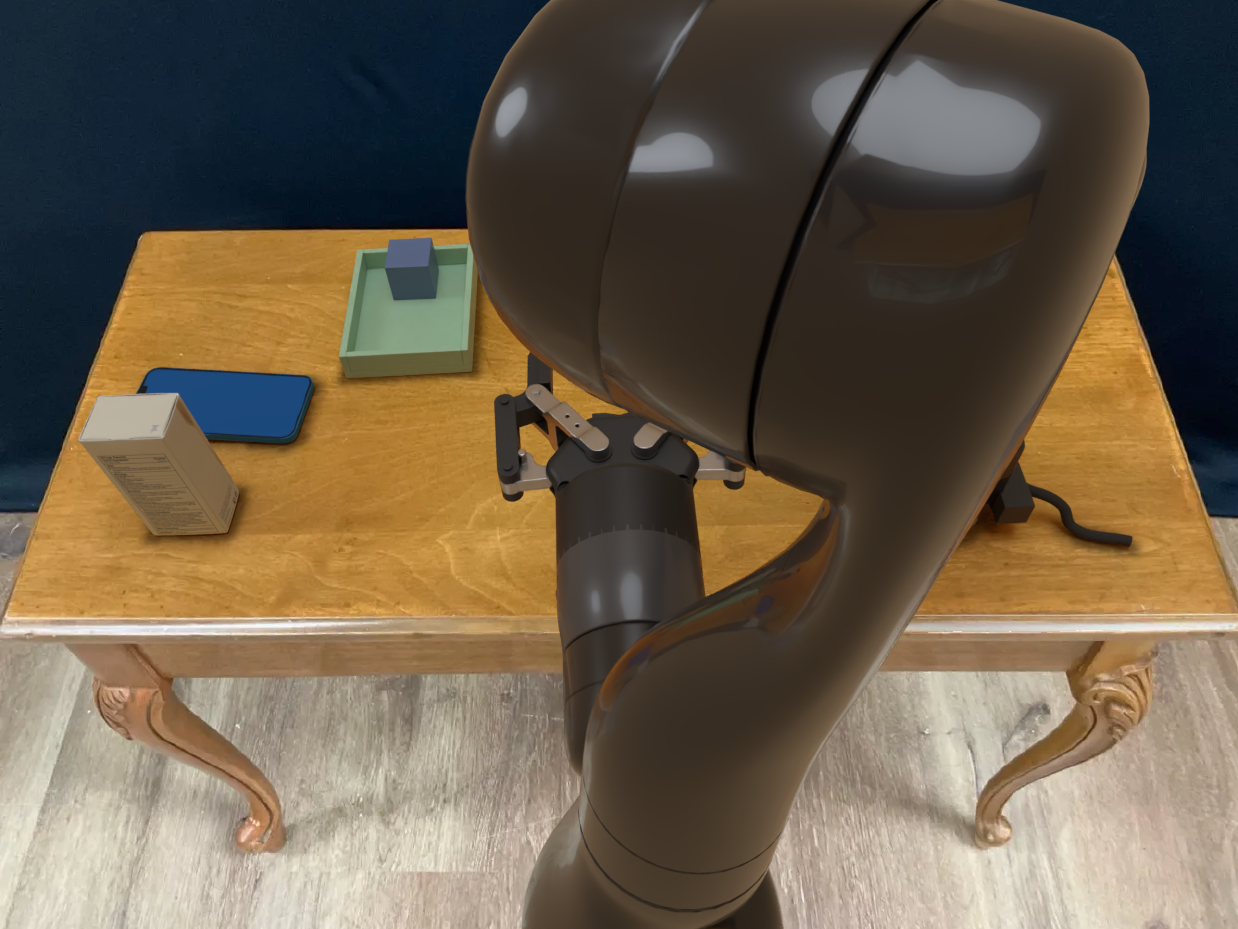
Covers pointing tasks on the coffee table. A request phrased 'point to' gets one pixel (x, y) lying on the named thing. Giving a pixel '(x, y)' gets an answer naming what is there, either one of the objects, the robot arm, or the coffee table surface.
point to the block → (412, 268)
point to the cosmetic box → (161, 463)
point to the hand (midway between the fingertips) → (614, 346)
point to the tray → (410, 319)
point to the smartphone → (237, 401)
